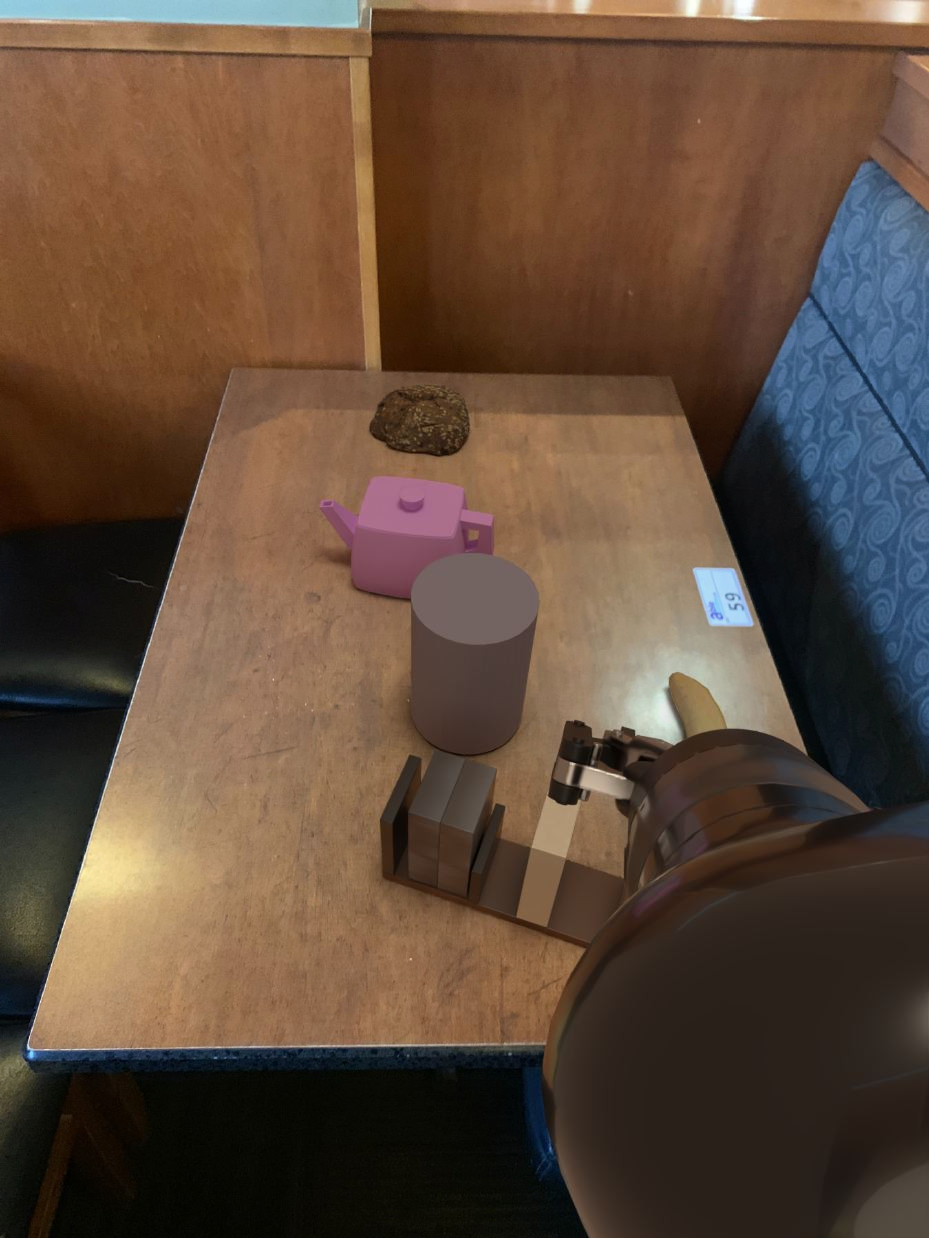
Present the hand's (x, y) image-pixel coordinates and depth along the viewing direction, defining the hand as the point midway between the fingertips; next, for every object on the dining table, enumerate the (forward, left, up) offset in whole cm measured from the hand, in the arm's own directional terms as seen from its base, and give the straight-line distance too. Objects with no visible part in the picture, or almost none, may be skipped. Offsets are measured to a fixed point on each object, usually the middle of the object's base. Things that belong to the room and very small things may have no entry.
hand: (706, 772), depth 42 cm
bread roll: (+38, -61, -28) cm, 77 cm away
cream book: (+7, -5, -27) cm, 28 cm away
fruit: (-1, -22, -28) cm, 36 cm away
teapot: (+30, -36, -28) cm, 54 cm away
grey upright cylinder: (+18, -20, -28) cm, 39 cm away
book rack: (+7, -5, -28) cm, 29 cm away
